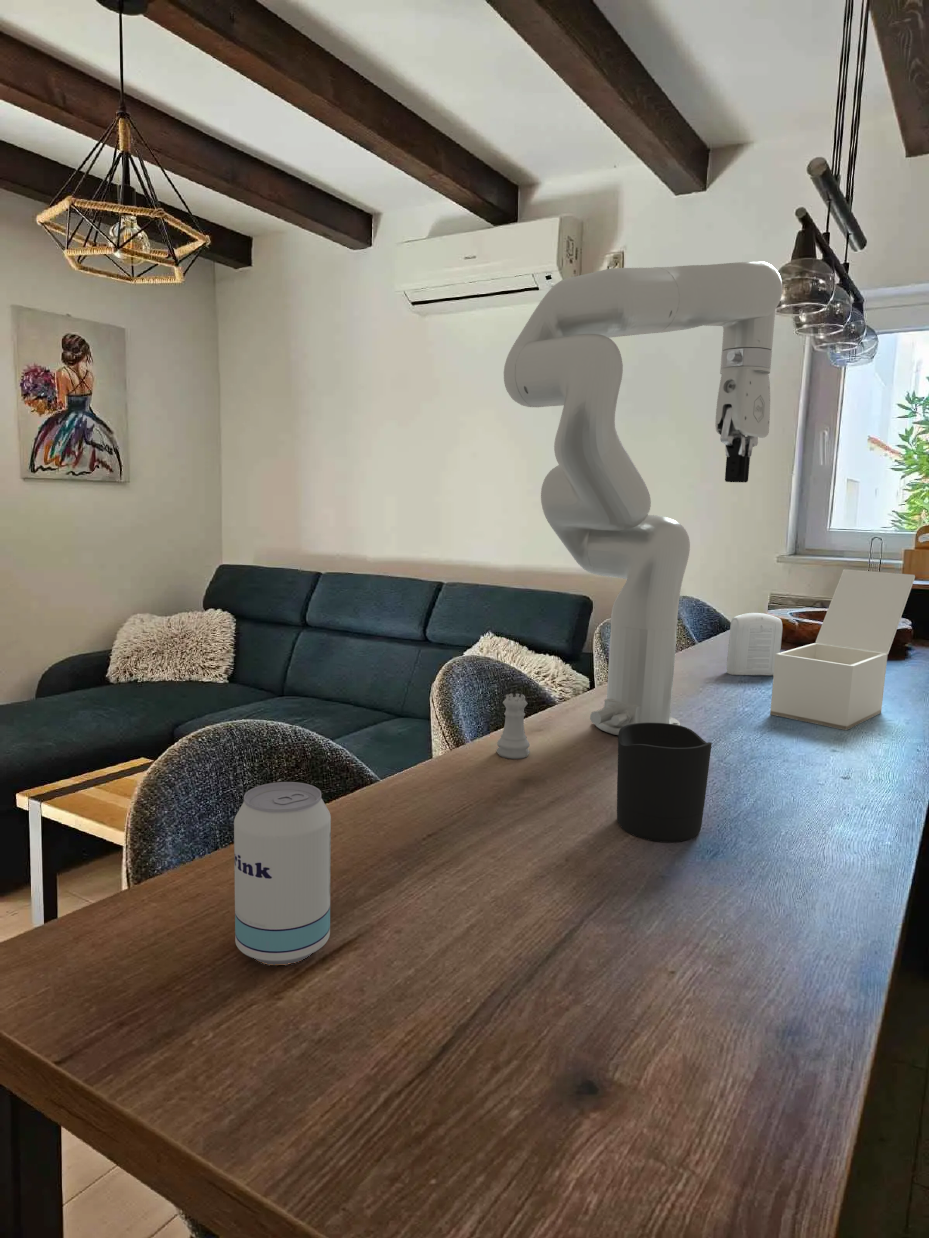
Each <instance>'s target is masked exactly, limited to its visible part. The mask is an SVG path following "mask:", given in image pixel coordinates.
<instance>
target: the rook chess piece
mask: <svg viewBox="0 0 929 1238" xmlns="http://www.w3.org/2000/svg"><path fill="white" fill-rule="evenodd" d="M502 704H503V705H504V707H505V712H504V713H503V714H504V716H505V720H504V726H503V730H502V734H501V735H500V738H499V739H498V740H497V746H498V747H497V749H496V750H495V751H496V753H497V754H498V755H499V757H501V758H504V759H510V760H521V759H525V758H527V757H528V755H529V754H530V753H531V751H530V749H529V747H530V741H529V740H528V739H527V735H526V734H525V733H526V732H525V723H524V720H525V719H524V717H525V716H526V713H525V707H527V705H528V702H527V701H526V695H525V694H520V693H515V696H514V693H508V694H506V695H505V699H504V700H503V701H502Z"/></svg>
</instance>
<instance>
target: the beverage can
mask: <svg viewBox="0 0 929 1238" xmlns="http://www.w3.org/2000/svg"><path fill="white" fill-rule="evenodd" d="M331 817H332V816H331V812H330V811H329V809H328V807H327V805H326V804H325V802H324V799H323V798H322V791H321V790H320V788H318V787H316V786H314V785H313V784H308V783H304V782H295V781H281V782H270V783H265V784H261V785H258V786H255V787H252V788H251V789H249V790H248V791H246V792H245V794H244V795H243V802H242V804H241V806H240V807H239V809H238V811H237V813H236V815H235V816H234V821H233V845H234V847H233V850H234V851H233V852H234V853H233V854H234V855H233V857H234V860H233V861H234V925H235V926H234V933H235V934H234V936H235V937H234V940H235V945H236V947H237V949H238V950H239V952H241V953H242V954H244V955H245V956H247V957H249V958H251V959H253V958H254V959H256V960H258V961H260V962H264V963H267V964H273V965H275V964H288V963H294V962H298V961H300V960H303V959H305V958H307V957H308V956H309V957H311V956H312V955H313V954H314V953H315V952H317V951H319V950H320V949H321V948H322V947H324V946H325V944H327V942H328V941H329V939H330V937H331V936H330V935H331V855H332V853H331V849H332V848H331V847H332V845H331V842H332V841H331V838H332V836H331V835H332V834H331V830H332V829H331V827H332V826H331V825H332V824H331V823H332V818H331ZM312 953H313V954H312ZM311 954H312V955H311ZM310 955H311V956H310ZM309 957H308V958H309ZM308 958H307V959H308ZM254 959H253V960H254ZM256 960H255V961H256ZM305 960H306V959H305ZM303 961H304V960H303ZM298 963H299V962H298Z"/></svg>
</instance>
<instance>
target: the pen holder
mask: <svg viewBox="0 0 929 1238" xmlns="http://www.w3.org/2000/svg"><path fill="white" fill-rule="evenodd" d="M617 736H618V737H617V772H616V774H617V775H616V776H617V777H616V779H617V782H616V784H617V785H616V819H617V820H616V821H617V823H618V824H619V826H620V827H621V829H622V830H623V831H625V832H626V833H629V834H630V835H632V836H634V835H635V836H634V837H638V838H641V839H643V838H645V839H644V840H648V839H649V840H648V841H653V840H656V841H655V842H660V841H662V843H679V842H680V843H681V842H685V840H686V841H689V840H692V839H693V838H695V837H696V836H698V834H699V833H700V831H701V830H702V824H703V815H704V810H705V809H704V808H705V802H706V794H707V786H708V777H709V768H710V759H711V752H712V744H713V743H712V742H706V741H705V740H704V739H703V738H702V737H701V736H700V735H699V734H697V733H696V732H695V731H693V729H691V728H688V727H686V726H683V725H681V726H680V725H675V724H667V723H635V724H629V725H626V726H623V727H622V728H621V729H620V730H619V734H618V735H617ZM691 838H692V839H691ZM688 839H689V840H688Z"/></svg>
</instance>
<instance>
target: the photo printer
mask: <svg viewBox="0 0 929 1238" xmlns="http://www.w3.org/2000/svg"><path fill="white" fill-rule="evenodd" d="M729 626H730V627H729V637H728V645H727V646H728V647H727V648H728V649H727V658H726V659H727V660H726V673H727V674H728V675H732V676H768V677H769V676H771V677H772V676H773V677H774V665H775V654H777V653H781V646H782V637H783V629H784V628H783V622H782V619H781V618H780V617H778V616H776V615H772V614H768V613H763V612H748V613H743V614H739V615H735V616H734V617H732V619H731V621H730V625H729Z"/></svg>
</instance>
